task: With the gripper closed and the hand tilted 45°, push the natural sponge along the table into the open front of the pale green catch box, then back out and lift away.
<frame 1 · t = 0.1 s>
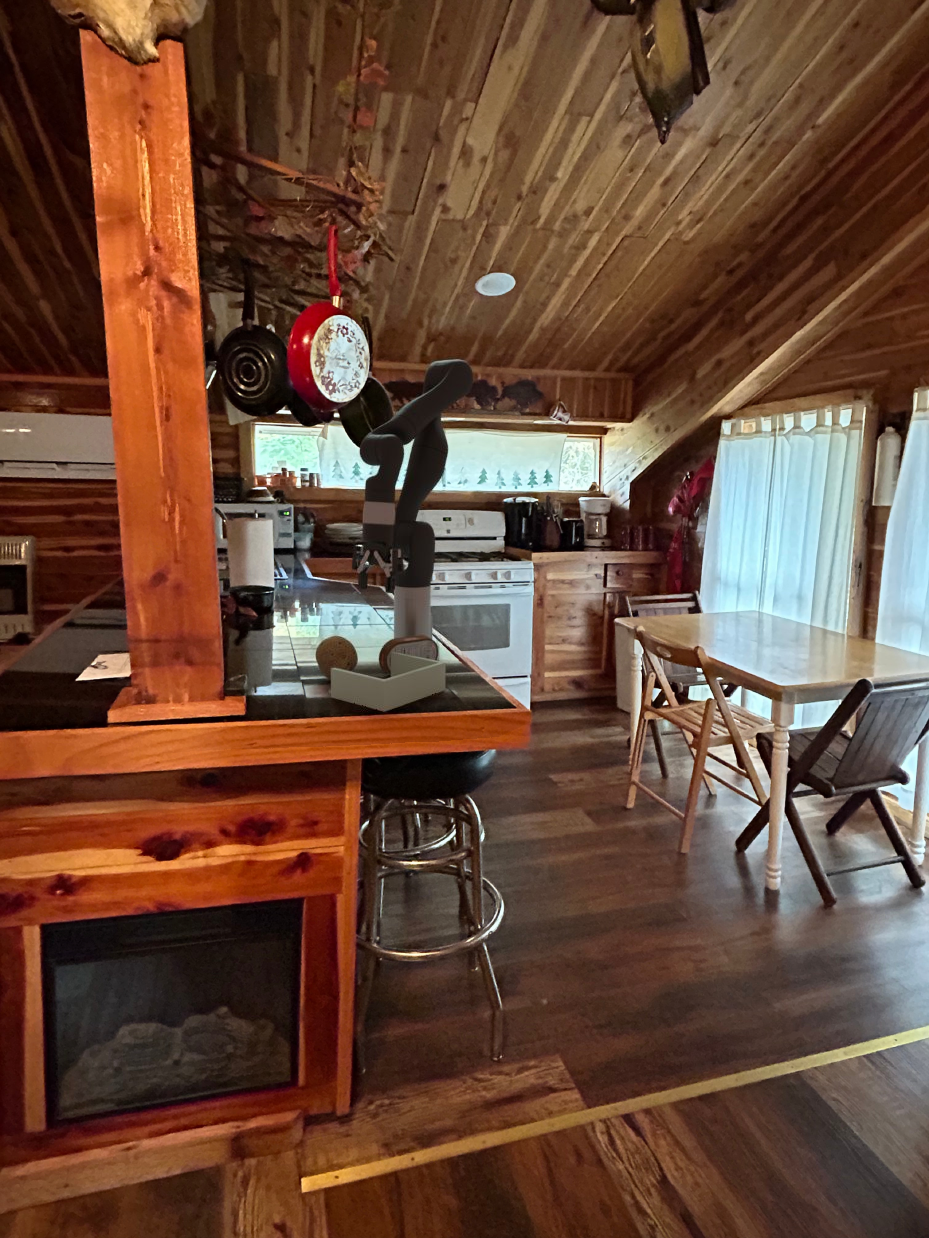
hand: (376, 591, 179), 17 cm above the counter, tool pointing down, fingers open, 8 cm apart
natural sponge: (337, 681, 165), on the counter
catch box: (389, 693, 156), on the counter
tin: (409, 674, 173), on the counter
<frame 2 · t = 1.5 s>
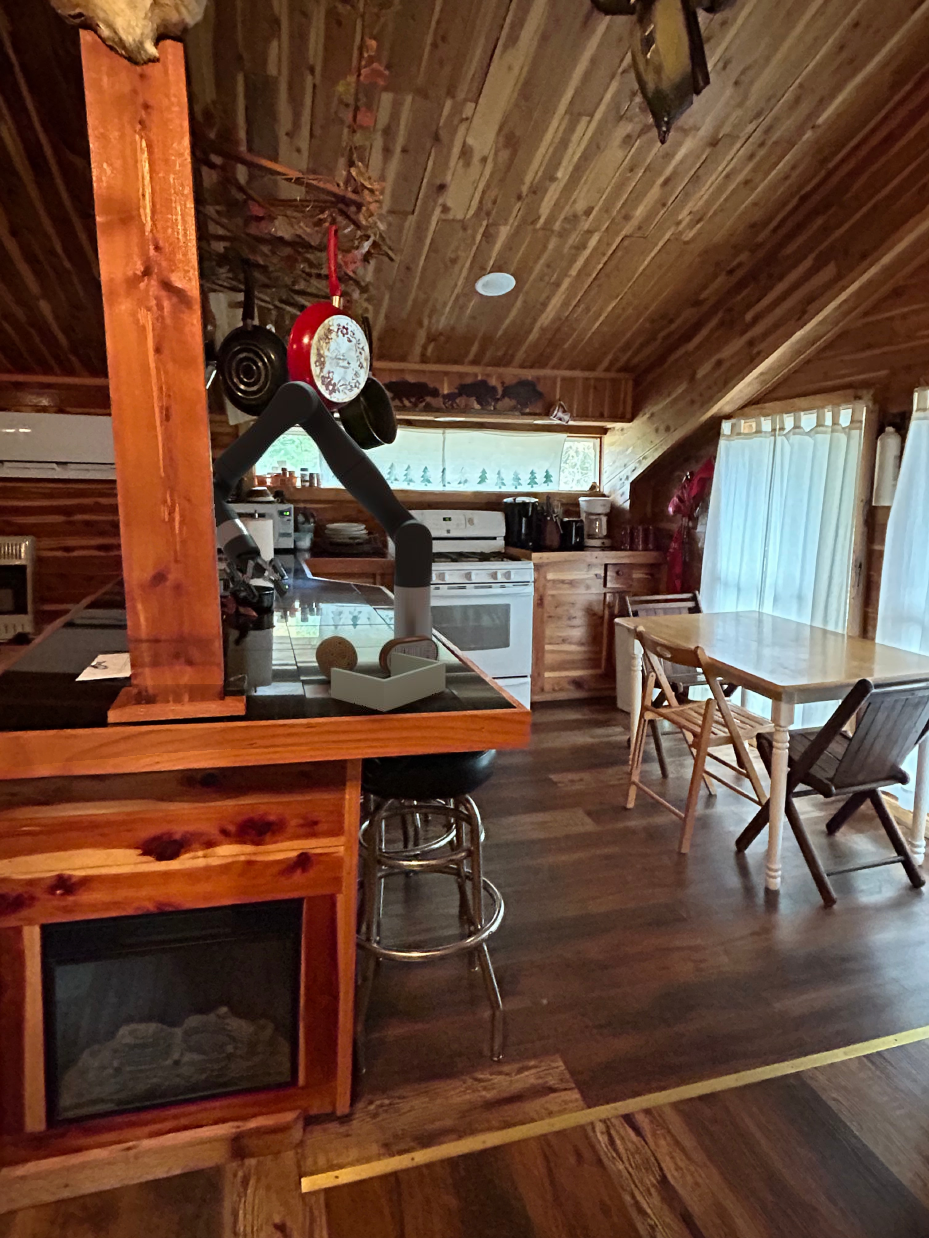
hand: (270, 597, 174), 16 cm above the counter, tool tilted 45°, fingers open, 7 cm apart
nothing on the counter moved.
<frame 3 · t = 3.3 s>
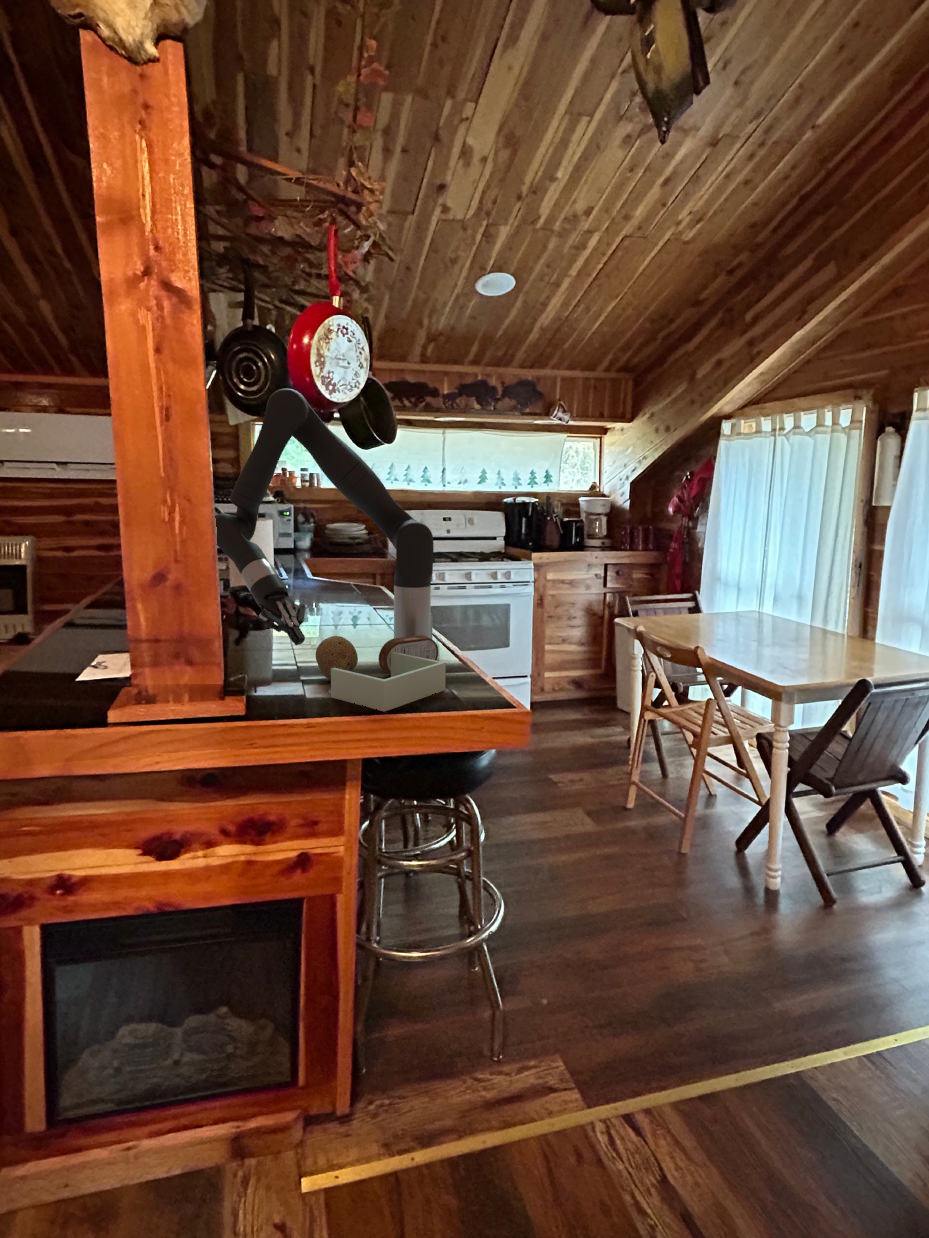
hand: (300, 642, 171), 7 cm above the counter, tool tilted 45°, fingers closed
nothing on the counter moved.
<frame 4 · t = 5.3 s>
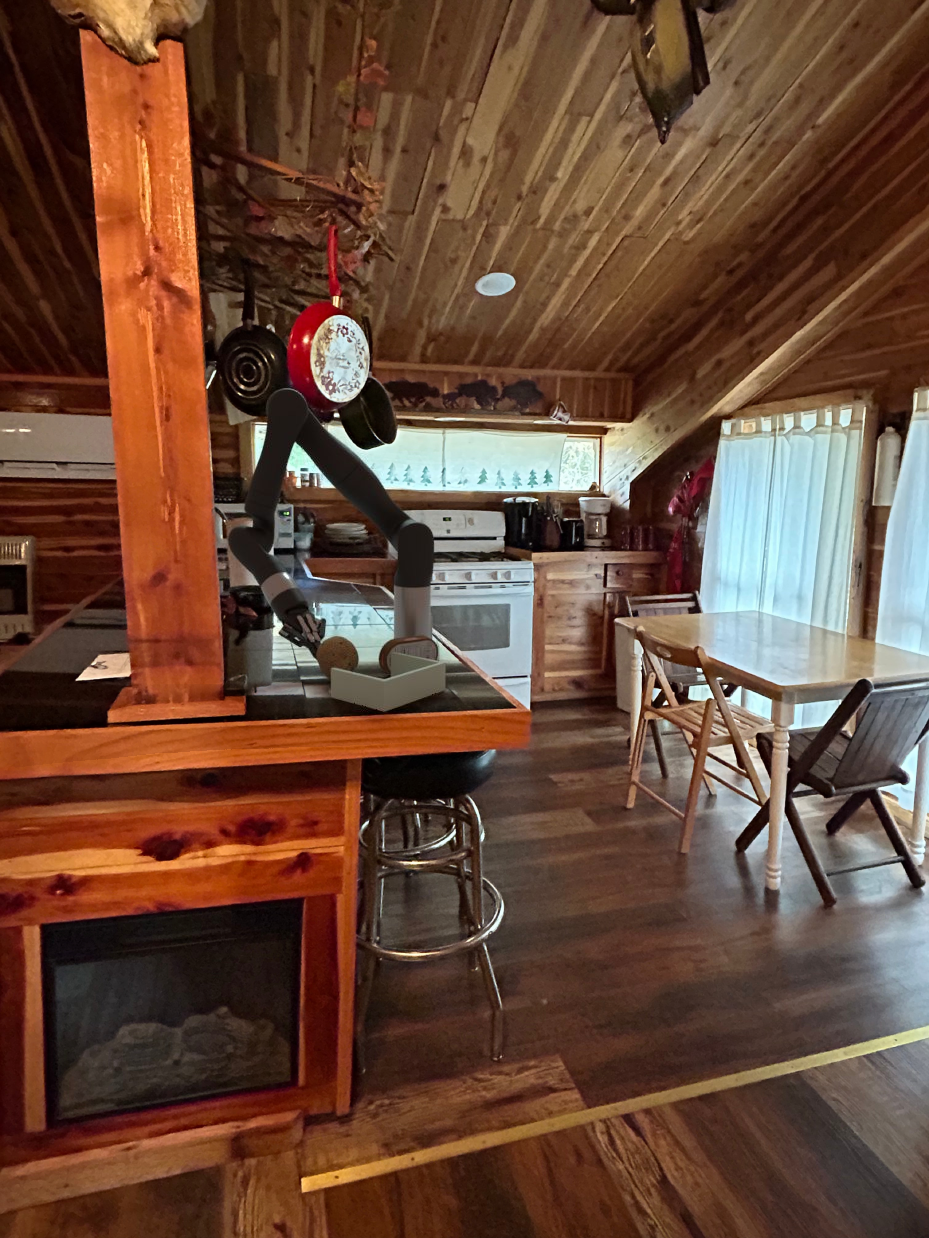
hand: (322, 658, 167), 4 cm above the counter, tool tilted 45°, fingers closed
natural sponge: (338, 681, 165), on the counter, touching gripper
everything else where it was.
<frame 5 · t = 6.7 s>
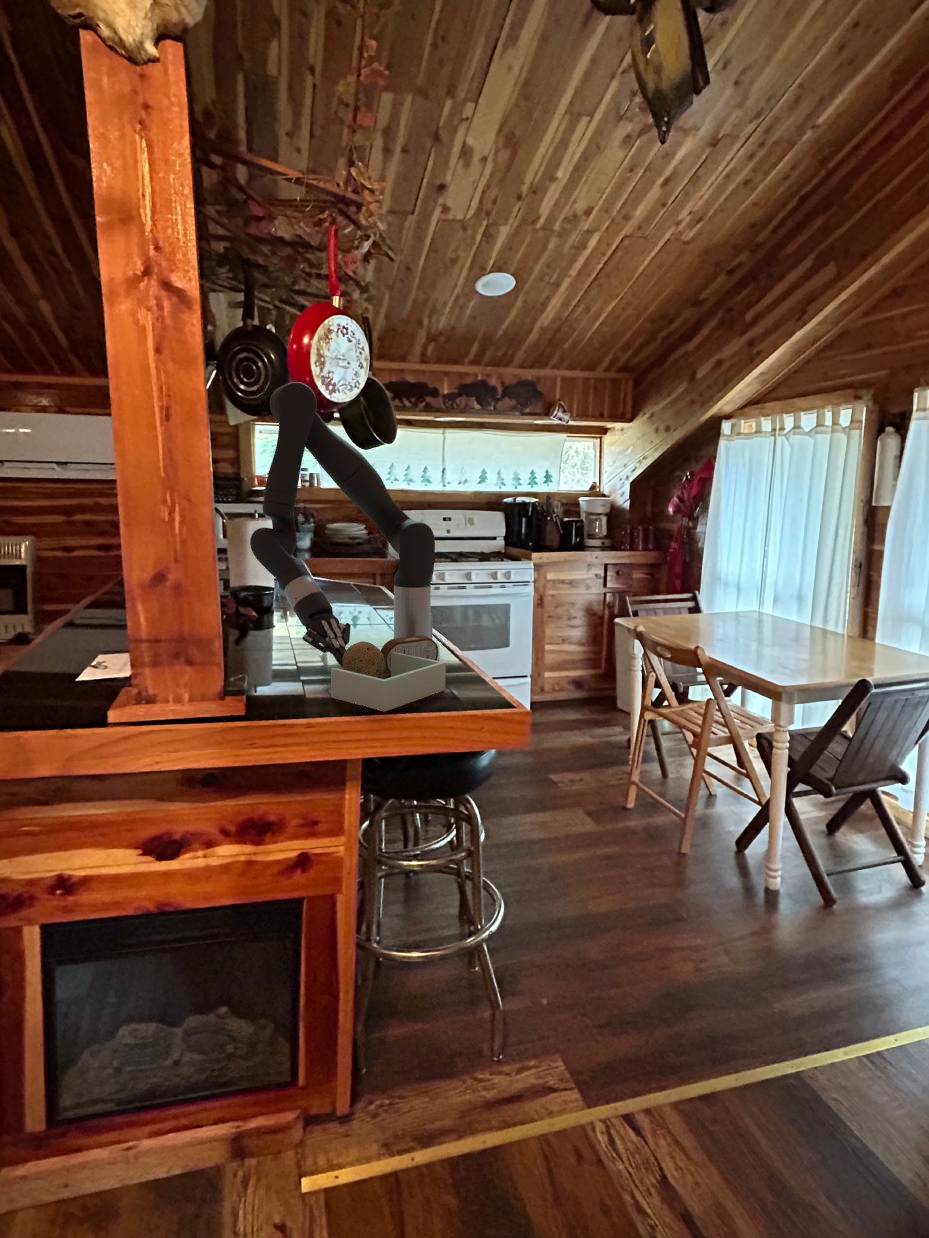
hand: (347, 664, 162), 4 cm above the counter, tool tilted 45°, fingers closed
natural sponge: (364, 688, 160), on the counter, touching gripper
everything else where it was.
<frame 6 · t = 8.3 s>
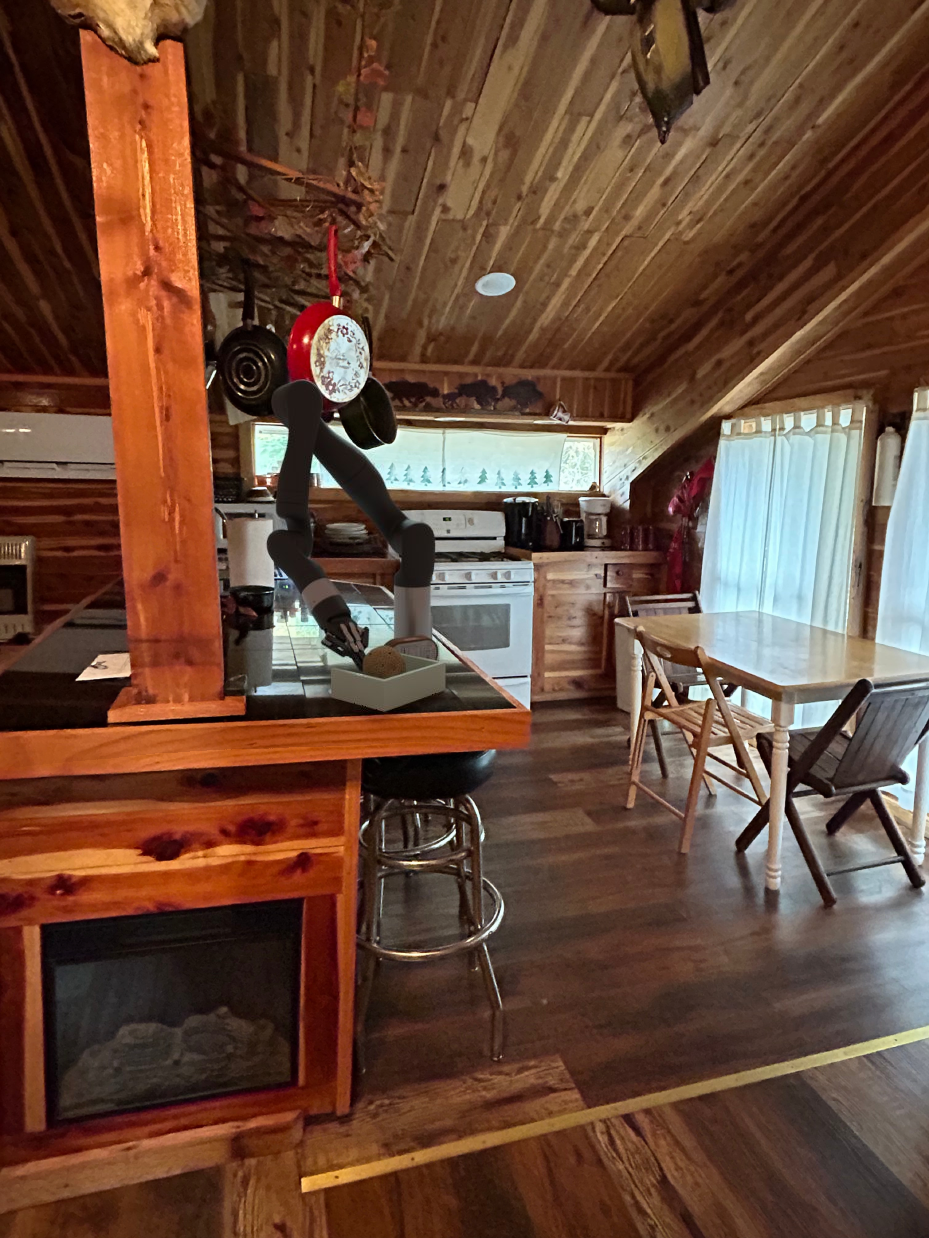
hand: (366, 668, 159), 4 cm above the counter, tool tilted 45°, fingers closed
natural sponge: (384, 693, 157), on the counter, touching gripper
everything else where it was.
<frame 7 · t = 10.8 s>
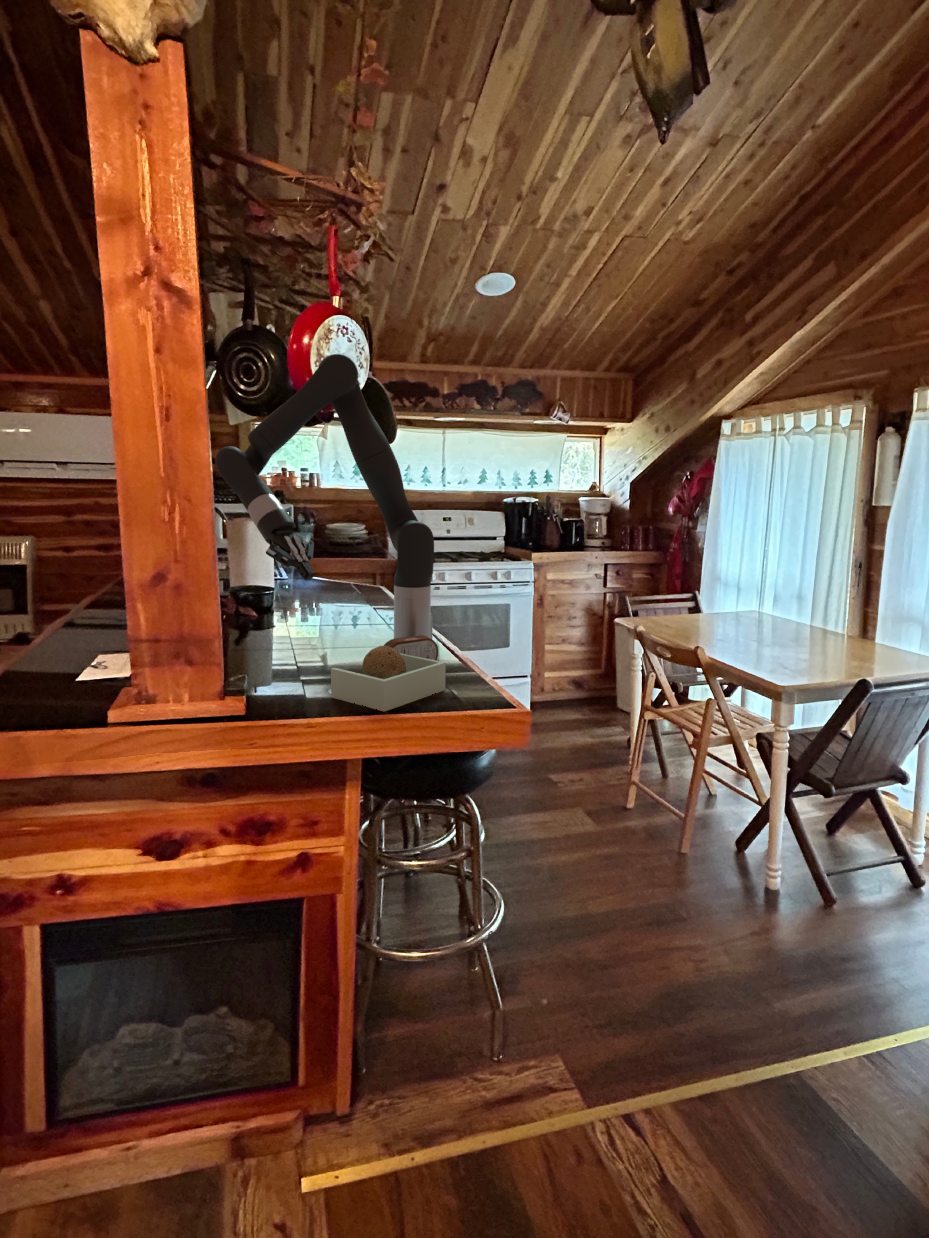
hand: (310, 577, 166), 22 cm above the counter, tool tilted 45°, fingers closed
natural sponge: (384, 693, 157), on the counter
everything else where it was.
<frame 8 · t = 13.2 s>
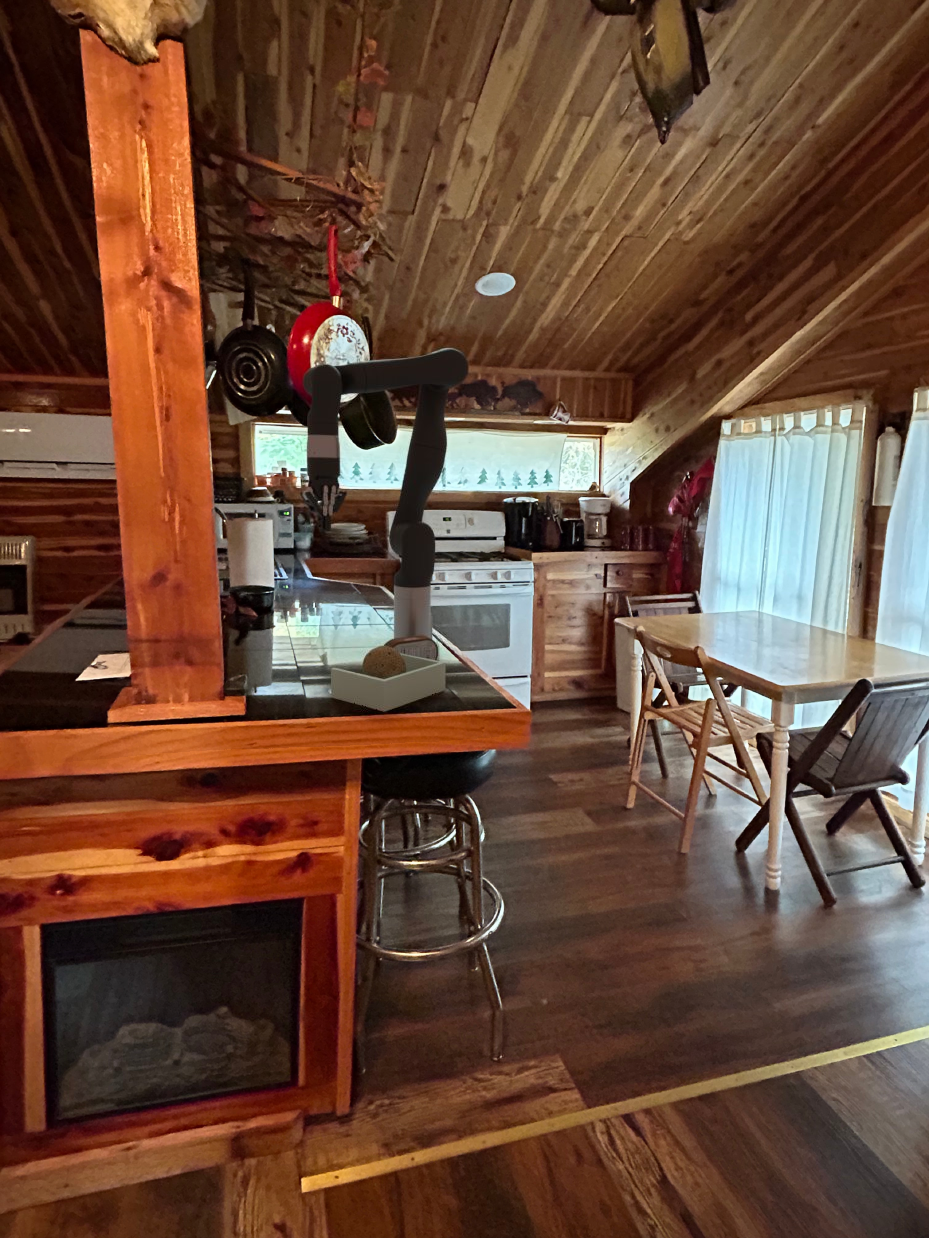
hand: (324, 531, 177), 31 cm above the counter, tool pointing down, fingers closed
nothing on the counter moved.
at the end: natural sponge inside the target area (1.9 cm from its centre), on the counter; natural sponge tilted 0° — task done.
